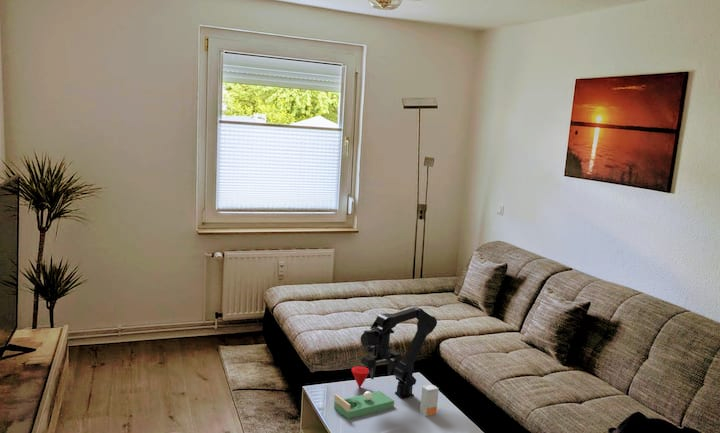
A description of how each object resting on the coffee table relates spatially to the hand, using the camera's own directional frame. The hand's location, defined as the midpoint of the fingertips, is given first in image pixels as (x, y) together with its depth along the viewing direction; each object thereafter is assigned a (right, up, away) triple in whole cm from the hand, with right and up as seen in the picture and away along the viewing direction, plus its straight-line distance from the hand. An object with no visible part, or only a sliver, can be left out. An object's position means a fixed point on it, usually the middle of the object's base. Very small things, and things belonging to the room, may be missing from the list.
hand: (380, 377), depth 250 cm
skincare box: (+20, -14, -6) cm, 26 cm away
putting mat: (-7, -12, -4) cm, 15 cm away
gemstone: (-9, -10, +15) cm, 20 cm away
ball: (-7, -8, -5) cm, 12 cm away
